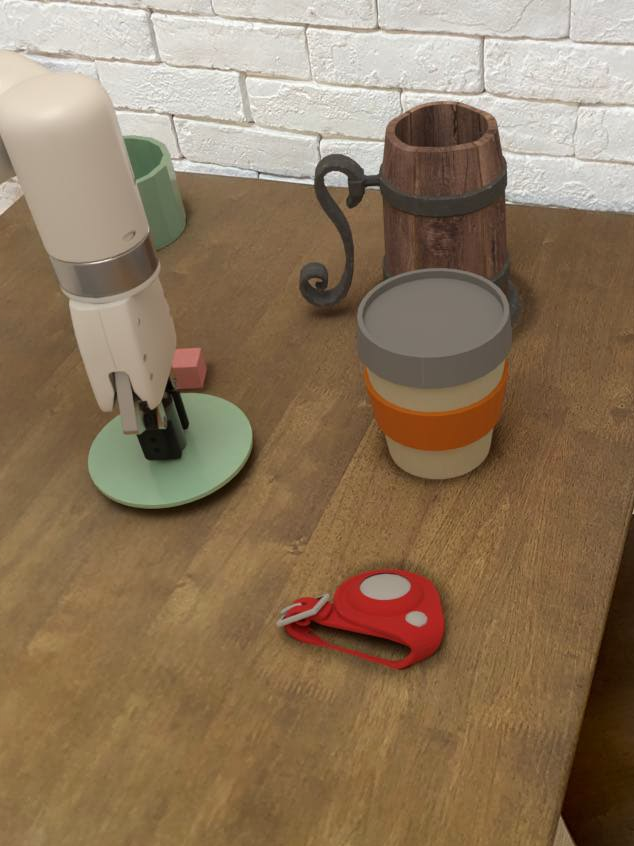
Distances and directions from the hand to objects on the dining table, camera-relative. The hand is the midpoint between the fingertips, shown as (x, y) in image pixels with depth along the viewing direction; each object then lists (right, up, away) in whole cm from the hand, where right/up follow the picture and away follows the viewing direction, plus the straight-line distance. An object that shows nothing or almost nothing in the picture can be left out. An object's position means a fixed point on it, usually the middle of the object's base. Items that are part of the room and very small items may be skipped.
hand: (167, 441), depth 83 cm
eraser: (-2, +7, +11) cm, 13 cm away
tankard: (+22, +15, +16) cm, 31 cm away
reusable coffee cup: (+24, -1, +2) cm, 24 cm away
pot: (-13, +29, +32) cm, 45 cm away
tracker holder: (+18, -15, -10) cm, 26 cm away
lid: (0, -1, +1) cm, 1 cm away
